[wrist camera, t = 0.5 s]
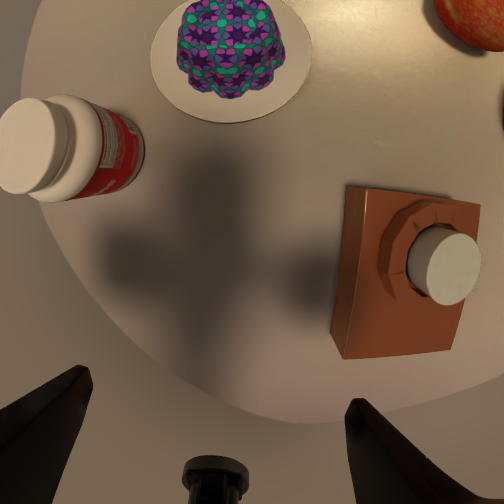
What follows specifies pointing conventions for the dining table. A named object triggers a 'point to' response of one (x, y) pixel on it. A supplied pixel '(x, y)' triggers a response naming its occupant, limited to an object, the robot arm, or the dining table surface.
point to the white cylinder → (444, 264)
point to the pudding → (231, 58)
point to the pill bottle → (66, 149)
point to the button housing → (392, 274)
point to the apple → (475, 21)
